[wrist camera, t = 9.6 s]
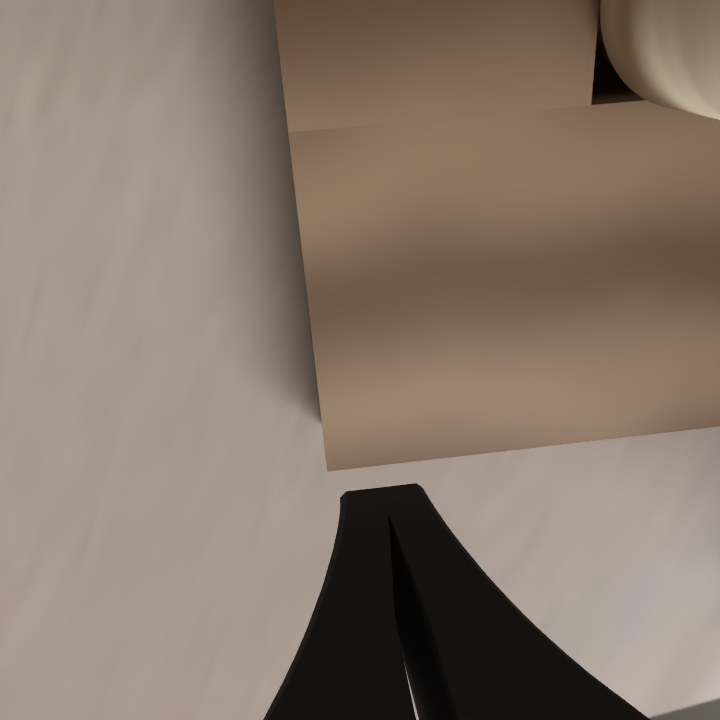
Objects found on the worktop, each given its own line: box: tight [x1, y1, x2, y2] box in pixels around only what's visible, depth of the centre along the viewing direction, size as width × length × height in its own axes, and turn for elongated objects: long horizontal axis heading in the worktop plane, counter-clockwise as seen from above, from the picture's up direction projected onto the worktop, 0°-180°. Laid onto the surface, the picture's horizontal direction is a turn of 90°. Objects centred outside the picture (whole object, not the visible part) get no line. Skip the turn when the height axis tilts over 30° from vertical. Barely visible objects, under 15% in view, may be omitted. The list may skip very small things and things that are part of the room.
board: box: [273, 0, 720, 471], centre depth 15 cm, size 20×14×6 cm
